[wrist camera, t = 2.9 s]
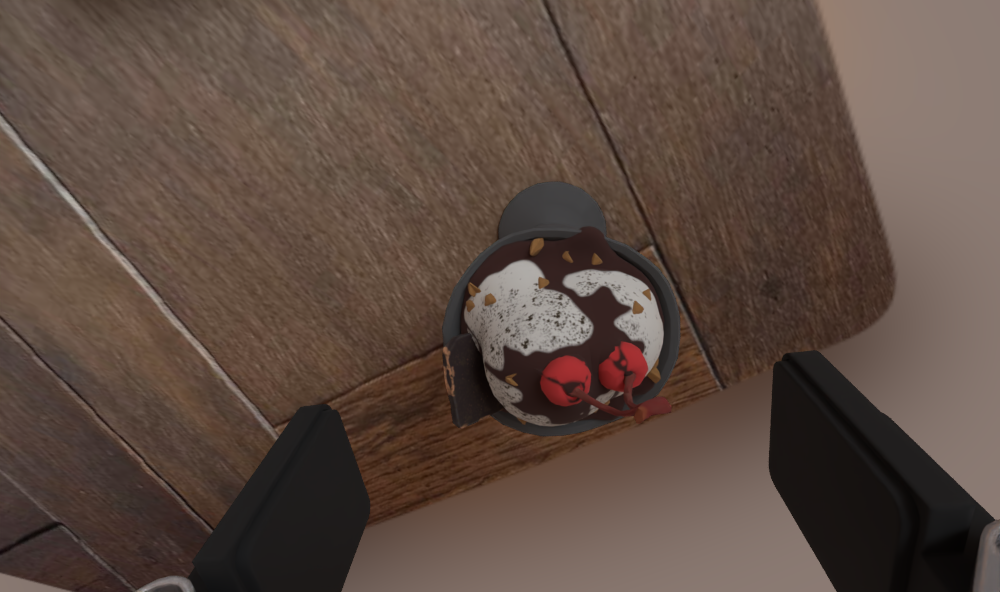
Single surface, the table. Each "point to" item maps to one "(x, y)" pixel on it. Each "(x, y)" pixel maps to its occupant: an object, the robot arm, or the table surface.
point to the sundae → (558, 323)
